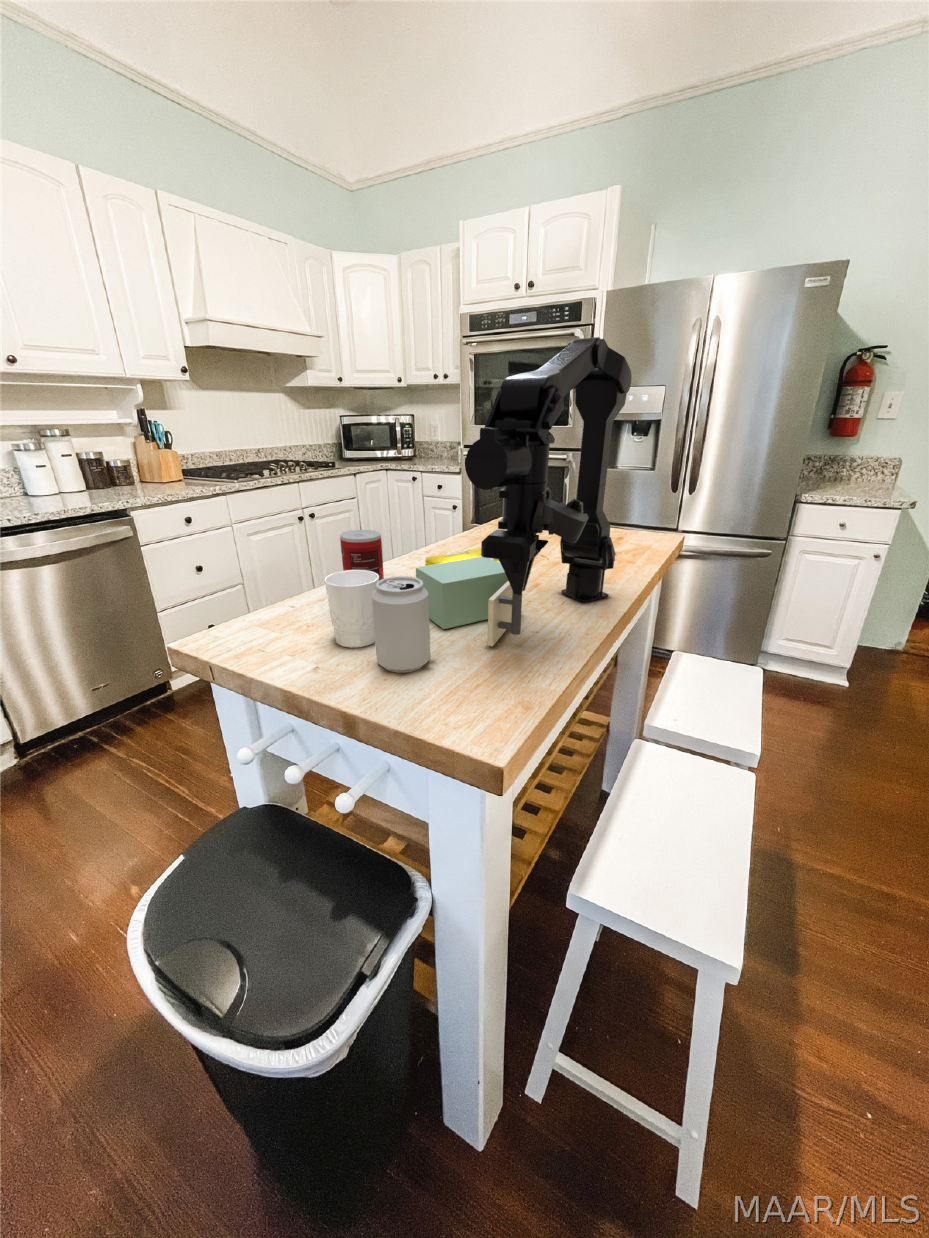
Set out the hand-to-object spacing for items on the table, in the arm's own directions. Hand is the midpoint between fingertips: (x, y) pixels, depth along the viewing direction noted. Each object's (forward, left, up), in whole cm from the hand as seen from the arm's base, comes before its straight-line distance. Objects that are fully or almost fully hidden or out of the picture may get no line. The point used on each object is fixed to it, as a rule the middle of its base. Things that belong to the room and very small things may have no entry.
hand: (519, 592), depth 72 cm
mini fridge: (0, -15, -9) cm, 18 cm away
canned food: (+11, -36, -9) cm, 39 cm away
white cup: (+20, -14, -9) cm, 26 cm away
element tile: (-10, -30, -9) cm, 33 cm away
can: (+17, -3, -9) cm, 19 cm away
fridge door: (-3, -4, -8) cm, 10 cm away
